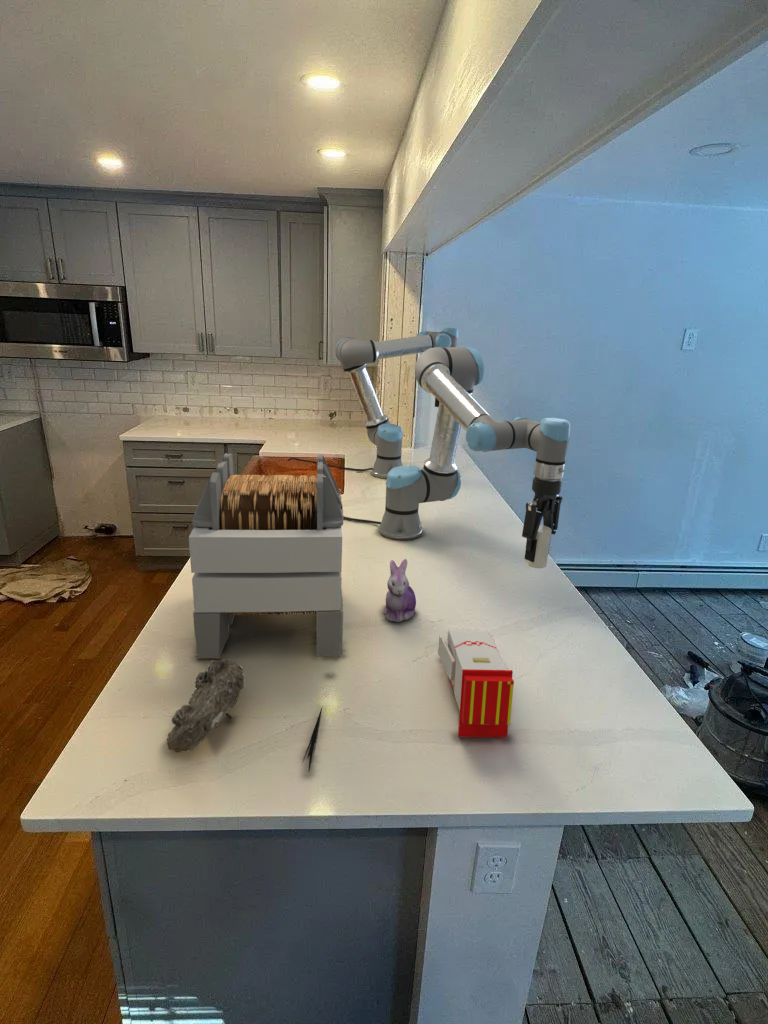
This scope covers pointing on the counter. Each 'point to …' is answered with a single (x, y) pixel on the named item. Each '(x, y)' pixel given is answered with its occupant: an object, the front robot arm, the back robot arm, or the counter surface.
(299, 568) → the transformer
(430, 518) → the counter surface
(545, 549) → the canister
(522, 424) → the front robot arm
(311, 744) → the feather
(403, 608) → the figurine
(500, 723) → the toy
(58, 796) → the counter surface
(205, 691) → the fossil
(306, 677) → the counter surface
